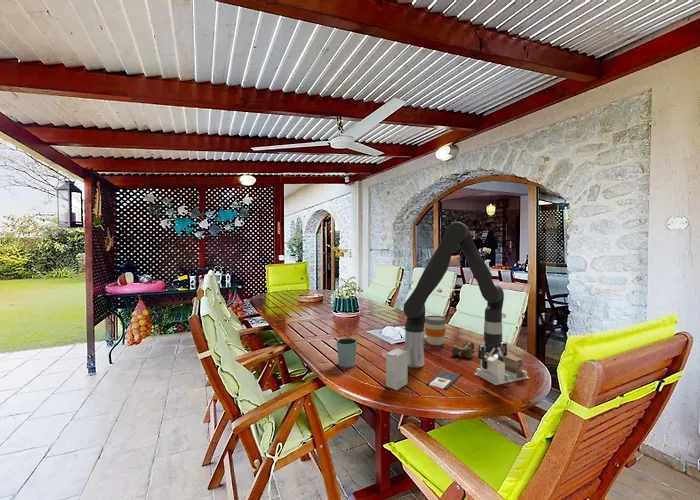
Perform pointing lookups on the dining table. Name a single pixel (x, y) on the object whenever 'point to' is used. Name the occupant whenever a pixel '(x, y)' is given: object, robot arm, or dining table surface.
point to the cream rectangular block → (495, 368)
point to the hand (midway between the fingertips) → (492, 367)
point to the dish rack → (495, 380)
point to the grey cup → (347, 352)
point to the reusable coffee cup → (435, 329)
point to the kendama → (464, 350)
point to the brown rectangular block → (513, 365)
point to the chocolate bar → (443, 379)
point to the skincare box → (396, 368)
